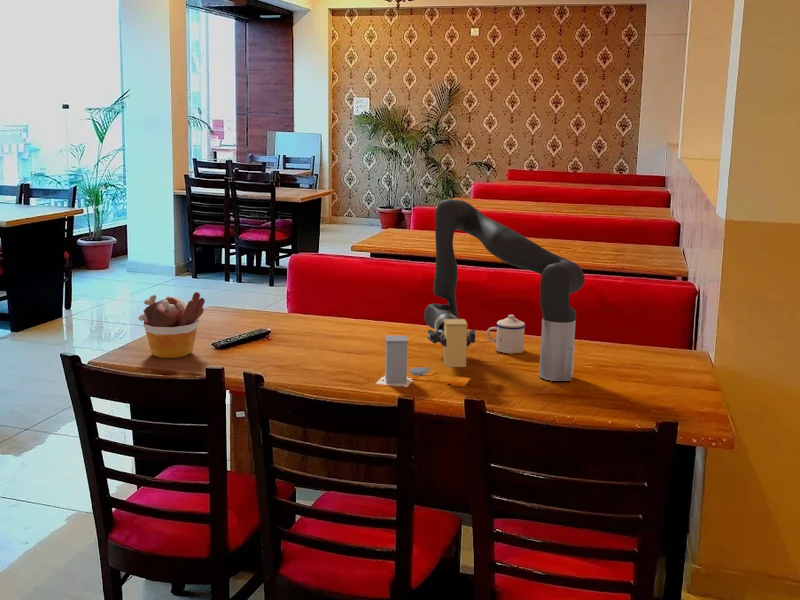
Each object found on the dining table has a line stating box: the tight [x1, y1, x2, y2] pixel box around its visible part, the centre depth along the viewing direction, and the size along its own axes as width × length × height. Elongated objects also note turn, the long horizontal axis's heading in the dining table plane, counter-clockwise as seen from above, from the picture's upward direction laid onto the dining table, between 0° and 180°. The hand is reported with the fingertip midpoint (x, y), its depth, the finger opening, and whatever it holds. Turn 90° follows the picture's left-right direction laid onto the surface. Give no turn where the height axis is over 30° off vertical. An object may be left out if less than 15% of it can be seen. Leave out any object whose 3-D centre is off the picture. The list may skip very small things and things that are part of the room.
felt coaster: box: [408, 366, 432, 377], centre depth 238 cm, size 8×8×1 cm
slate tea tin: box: [384, 335, 409, 384], centre depth 228 cm, size 6×6×12 cm
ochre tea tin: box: [443, 318, 468, 368], centre depth 228 cm, size 6×6×12 cm
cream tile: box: [375, 375, 414, 388], centre depth 229 cm, size 9×9×1 cm
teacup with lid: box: [486, 314, 526, 354], centre depth 262 cm, size 12×9×12 cm
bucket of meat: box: [137, 291, 206, 360], centre depth 249 cm, size 20×16×20 cm
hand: (456, 342), depth 225 cm, fingers closed on ochre tea tin, 5 cm apart
